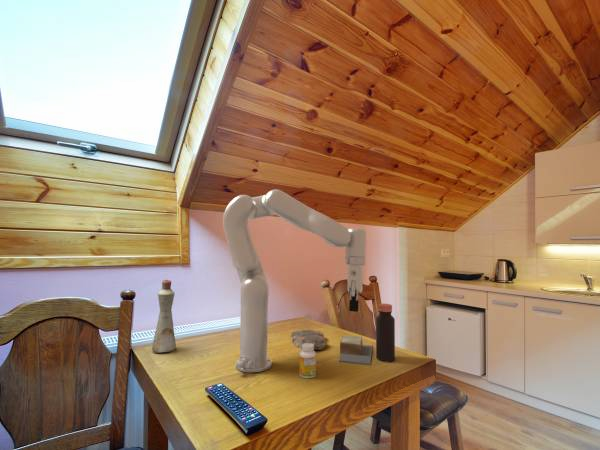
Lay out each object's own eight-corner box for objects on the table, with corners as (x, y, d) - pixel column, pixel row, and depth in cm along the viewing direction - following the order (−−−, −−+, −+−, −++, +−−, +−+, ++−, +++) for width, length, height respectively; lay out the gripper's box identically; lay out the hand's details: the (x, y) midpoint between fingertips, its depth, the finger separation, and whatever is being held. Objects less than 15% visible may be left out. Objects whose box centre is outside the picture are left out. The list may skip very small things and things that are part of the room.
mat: (370, 365, 110) (370, 363, 110) (339, 361, 113) (339, 360, 113) (372, 346, 130) (372, 345, 130) (345, 344, 133) (345, 342, 133)
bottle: (151, 355, 117) (153, 281, 119) (152, 348, 126) (154, 278, 127) (176, 352, 121) (178, 280, 122) (175, 345, 129) (177, 277, 131)
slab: (361, 344, 119) (362, 336, 128) (340, 342, 120) (342, 334, 130) (361, 355, 118) (362, 346, 128) (340, 353, 120) (342, 345, 130)
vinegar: (378, 354, 121) (378, 302, 122) (396, 357, 118) (396, 304, 119) (374, 360, 115) (374, 305, 116) (393, 363, 112) (393, 307, 113)
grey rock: (331, 352, 124) (320, 336, 143) (331, 340, 124) (320, 325, 144) (296, 355, 121) (290, 338, 141) (296, 342, 122) (290, 327, 141)
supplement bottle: (299, 371, 105) (299, 342, 105) (315, 371, 105) (315, 342, 105) (299, 378, 99) (299, 347, 100) (315, 378, 99) (316, 347, 100)
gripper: (364, 262, 108) (362, 316, 107) (366, 260, 122) (365, 307, 122) (342, 261, 110) (341, 314, 109) (347, 259, 124) (345, 306, 123)
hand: (353, 310), depth 115 cm, fingers closed
